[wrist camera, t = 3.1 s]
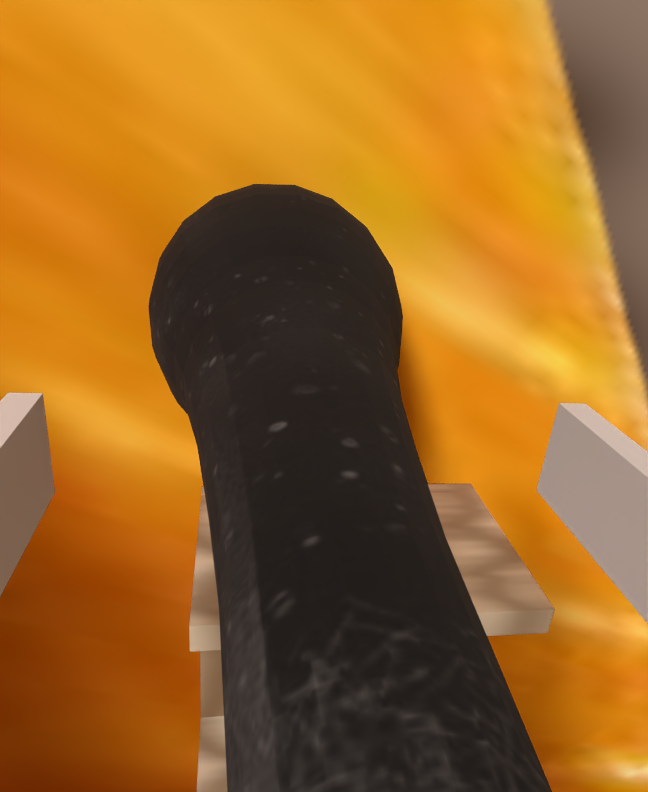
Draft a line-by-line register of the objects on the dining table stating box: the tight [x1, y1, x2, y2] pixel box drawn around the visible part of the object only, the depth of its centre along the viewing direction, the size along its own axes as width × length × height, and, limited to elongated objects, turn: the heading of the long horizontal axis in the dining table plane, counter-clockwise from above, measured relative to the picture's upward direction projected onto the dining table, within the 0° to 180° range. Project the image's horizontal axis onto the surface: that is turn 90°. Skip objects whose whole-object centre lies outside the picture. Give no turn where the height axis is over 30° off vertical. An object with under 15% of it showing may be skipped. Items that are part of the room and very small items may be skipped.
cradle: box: [189, 484, 555, 792], centre depth 35 cm, size 17×17×11 cm
